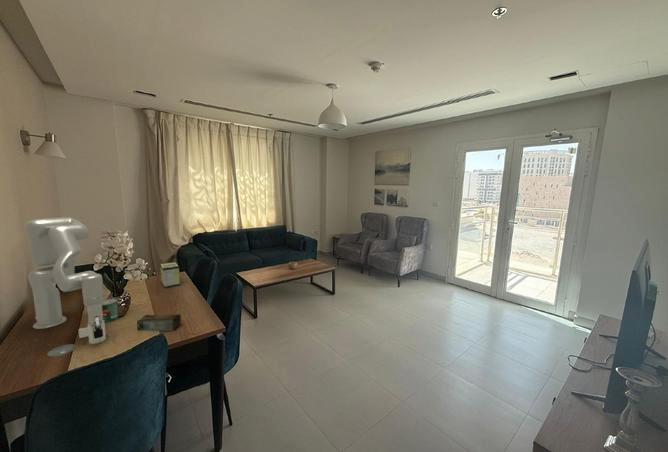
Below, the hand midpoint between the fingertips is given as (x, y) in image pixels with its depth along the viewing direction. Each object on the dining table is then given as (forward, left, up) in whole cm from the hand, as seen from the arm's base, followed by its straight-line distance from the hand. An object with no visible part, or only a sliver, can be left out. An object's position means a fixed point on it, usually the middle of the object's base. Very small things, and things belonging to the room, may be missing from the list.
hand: (98, 334), depth 131 cm
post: (0, 0, -3) cm, 3 cm away
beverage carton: (+17, +19, -4) cm, 26 cm away
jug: (-1, -2, -3) cm, 3 cm away
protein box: (-31, +73, -4) cm, 80 cm away
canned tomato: (-16, +17, -4) cm, 24 cm away
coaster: (-6, -11, -3) cm, 13 cm away
